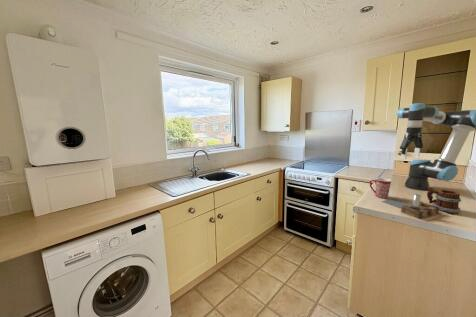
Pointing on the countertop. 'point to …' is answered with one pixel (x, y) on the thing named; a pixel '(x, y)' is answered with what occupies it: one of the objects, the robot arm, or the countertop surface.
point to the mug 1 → (381, 187)
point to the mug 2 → (445, 200)
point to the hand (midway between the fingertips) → (409, 158)
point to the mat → (396, 202)
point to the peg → (416, 201)
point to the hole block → (420, 210)
